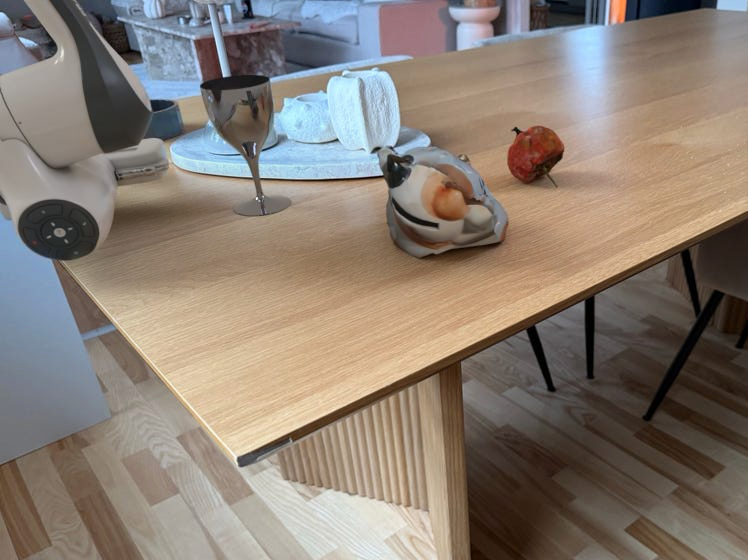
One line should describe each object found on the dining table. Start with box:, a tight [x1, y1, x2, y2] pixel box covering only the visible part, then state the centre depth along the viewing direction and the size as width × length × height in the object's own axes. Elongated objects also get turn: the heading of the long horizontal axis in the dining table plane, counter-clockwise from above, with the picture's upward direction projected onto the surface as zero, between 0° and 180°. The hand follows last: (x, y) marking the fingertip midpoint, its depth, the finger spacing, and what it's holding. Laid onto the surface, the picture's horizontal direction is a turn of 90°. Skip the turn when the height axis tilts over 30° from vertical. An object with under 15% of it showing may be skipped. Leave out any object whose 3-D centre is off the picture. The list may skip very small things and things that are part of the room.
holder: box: [143, 98, 186, 141], centre depth 119 cm, size 11×11×4 cm
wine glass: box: [199, 74, 292, 217], centre depth 85 cm, size 8×8×15 cm
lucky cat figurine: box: [376, 145, 510, 259], centre depth 73 cm, size 15×12×14 cm
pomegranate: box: [506, 125, 565, 189], centre depth 91 cm, size 7×7×10 cm
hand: (85, 150), depth 92 cm, fingers open, 8 cm apart
